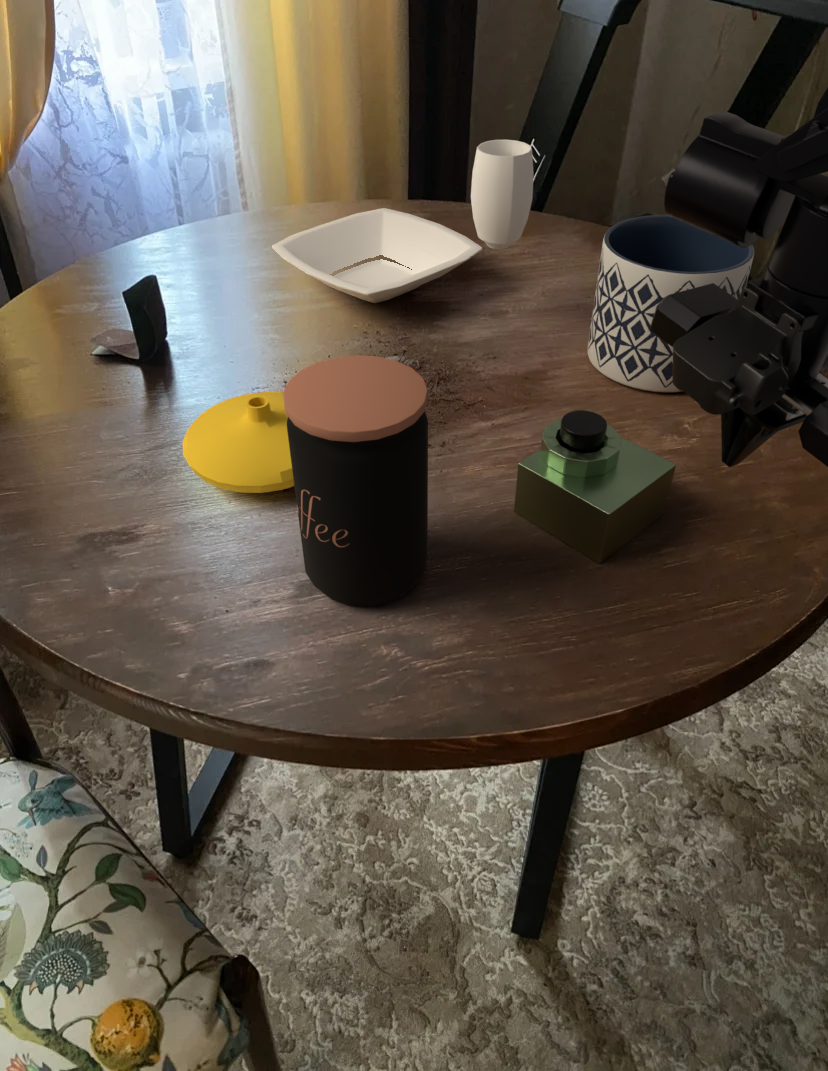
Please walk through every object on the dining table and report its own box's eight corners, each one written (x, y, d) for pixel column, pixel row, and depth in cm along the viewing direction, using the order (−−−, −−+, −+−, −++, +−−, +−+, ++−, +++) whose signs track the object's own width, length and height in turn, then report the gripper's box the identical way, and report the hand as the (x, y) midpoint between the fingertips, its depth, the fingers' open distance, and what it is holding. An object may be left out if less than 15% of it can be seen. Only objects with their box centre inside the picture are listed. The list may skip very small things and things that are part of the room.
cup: (511, 301, 112) (523, 135, 98) (530, 326, 106) (545, 154, 93) (459, 307, 110) (464, 140, 97) (475, 333, 105) (483, 160, 91)
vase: (155, 485, 82) (139, 425, 78) (243, 405, 93) (233, 348, 88) (294, 528, 77) (286, 466, 73) (370, 438, 88) (367, 379, 83)
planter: (622, 405, 93) (645, 281, 83) (565, 338, 104) (579, 223, 94) (750, 384, 96) (786, 262, 86) (680, 321, 107) (706, 208, 98)
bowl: (261, 286, 116) (256, 245, 112) (388, 240, 128) (386, 202, 124) (365, 343, 103) (363, 300, 100) (495, 287, 115) (497, 246, 111)
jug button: (613, 441, 75) (616, 422, 74) (585, 460, 73) (588, 440, 72) (577, 423, 77) (580, 404, 76) (549, 441, 75) (552, 422, 74)
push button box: (664, 513, 79) (680, 447, 74) (599, 564, 73) (612, 497, 69) (575, 465, 84) (585, 401, 79) (509, 509, 79) (515, 444, 74)
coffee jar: (292, 543, 76) (268, 368, 64) (404, 518, 78) (401, 344, 66) (322, 626, 68) (301, 444, 56) (445, 594, 71) (449, 414, 59)
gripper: (620, 232, 55) (572, 420, 66) (845, 387, 44) (741, 581, 55) (742, 205, 59) (677, 386, 71) (974, 340, 48) (854, 529, 60)
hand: (729, 463), depth 64 cm, fingers closed
